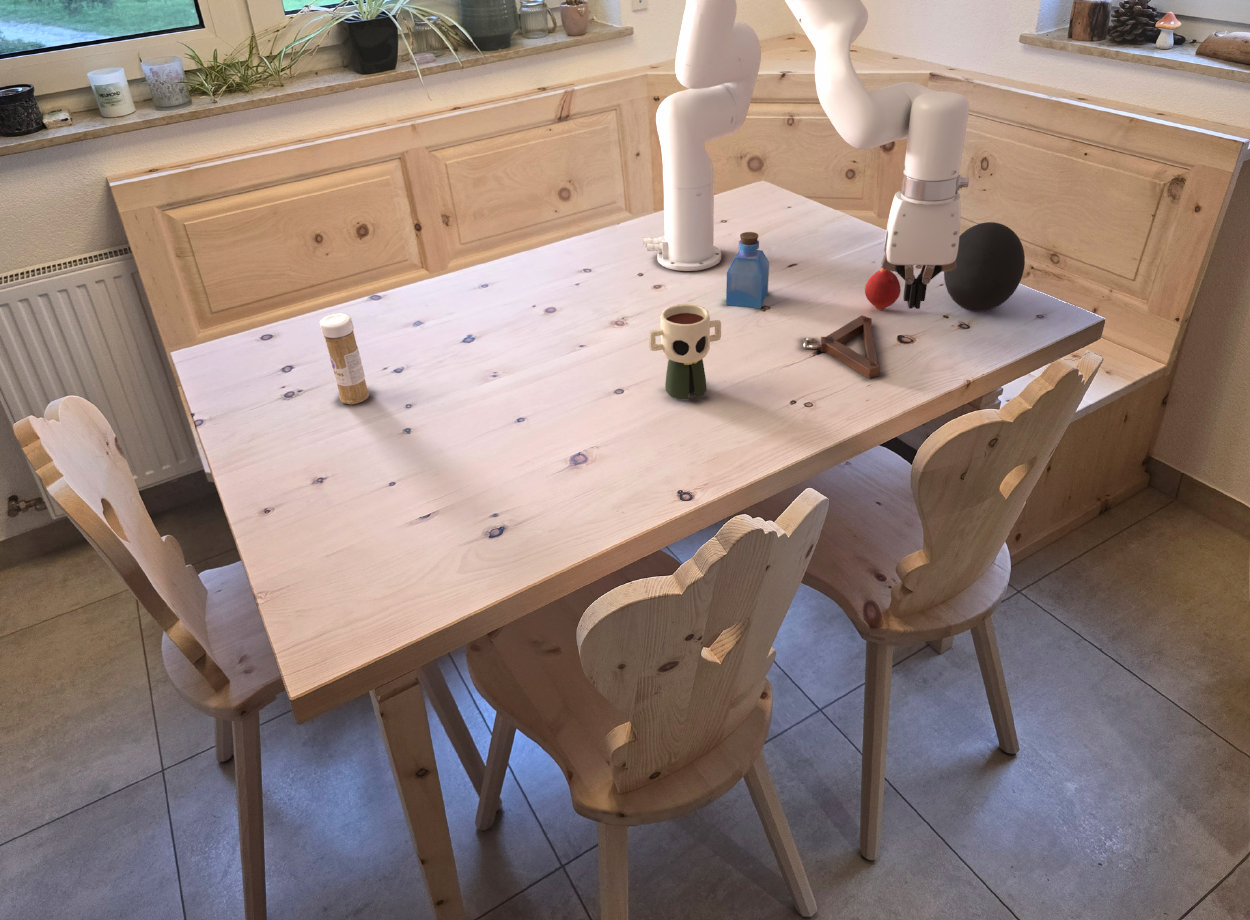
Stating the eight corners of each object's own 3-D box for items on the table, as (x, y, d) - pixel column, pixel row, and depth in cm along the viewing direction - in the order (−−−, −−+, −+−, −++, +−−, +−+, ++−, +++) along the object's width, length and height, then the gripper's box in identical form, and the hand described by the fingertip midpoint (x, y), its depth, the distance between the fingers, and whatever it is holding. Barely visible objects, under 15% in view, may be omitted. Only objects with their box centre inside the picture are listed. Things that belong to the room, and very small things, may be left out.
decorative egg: (969, 287, 160) (984, 205, 151) (1029, 310, 151) (1049, 225, 143) (922, 306, 154) (935, 222, 146) (982, 331, 146) (1000, 244, 137)
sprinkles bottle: (334, 399, 138) (312, 321, 130) (358, 387, 141) (338, 309, 133) (352, 408, 136) (331, 329, 128) (376, 396, 138) (357, 317, 131)
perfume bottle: (767, 294, 162) (770, 230, 155) (760, 308, 157) (763, 243, 150) (734, 290, 163) (735, 227, 157) (726, 305, 159) (727, 240, 152)
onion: (894, 302, 156) (900, 259, 152) (899, 316, 152) (906, 272, 147) (861, 302, 157) (865, 259, 152) (865, 316, 152) (870, 273, 148)
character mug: (657, 410, 131) (654, 330, 124) (645, 386, 137) (641, 309, 129) (728, 397, 133) (729, 318, 125) (712, 375, 139) (713, 298, 131)
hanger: (804, 376, 137) (805, 367, 136) (802, 322, 152) (803, 314, 151) (879, 379, 135) (880, 370, 134) (870, 324, 150) (871, 315, 149)
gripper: (979, 177, 129) (959, 295, 139) (873, 178, 131) (861, 294, 141) (989, 194, 122) (967, 316, 133) (877, 195, 125) (864, 315, 135)
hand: (913, 304), depth 137 cm, fingers closed
